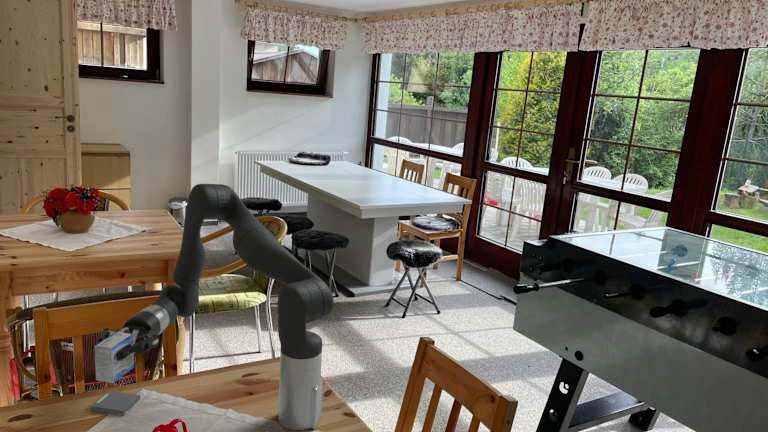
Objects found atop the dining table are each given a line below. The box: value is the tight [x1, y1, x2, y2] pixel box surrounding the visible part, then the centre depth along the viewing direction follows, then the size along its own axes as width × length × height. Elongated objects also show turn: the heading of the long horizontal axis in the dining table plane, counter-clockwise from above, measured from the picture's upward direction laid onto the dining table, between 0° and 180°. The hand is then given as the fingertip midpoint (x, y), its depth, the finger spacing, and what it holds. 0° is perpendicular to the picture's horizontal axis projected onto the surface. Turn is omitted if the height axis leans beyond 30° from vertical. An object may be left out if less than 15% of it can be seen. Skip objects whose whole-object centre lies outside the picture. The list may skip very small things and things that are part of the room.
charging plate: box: [90, 390, 141, 416], centre depth 137 cm, size 8×7×1 cm
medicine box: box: [93, 332, 135, 384], centre depth 135 cm, size 8×4×9 cm, turn 169°
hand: (107, 355), depth 132 cm, fingers closed on medicine box, 4 cm apart
